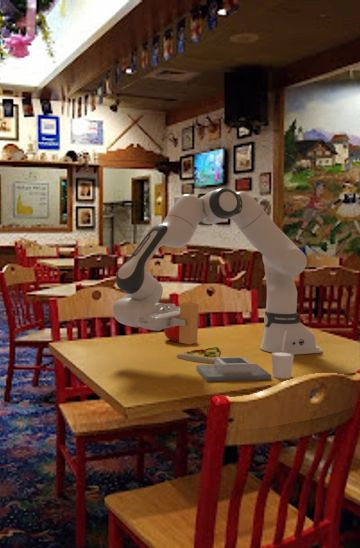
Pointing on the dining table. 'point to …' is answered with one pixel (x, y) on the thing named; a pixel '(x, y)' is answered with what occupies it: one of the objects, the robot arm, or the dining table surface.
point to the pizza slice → (201, 355)
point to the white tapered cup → (282, 364)
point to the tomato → (172, 333)
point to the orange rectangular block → (189, 323)
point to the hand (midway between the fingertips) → (191, 321)
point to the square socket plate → (232, 370)
